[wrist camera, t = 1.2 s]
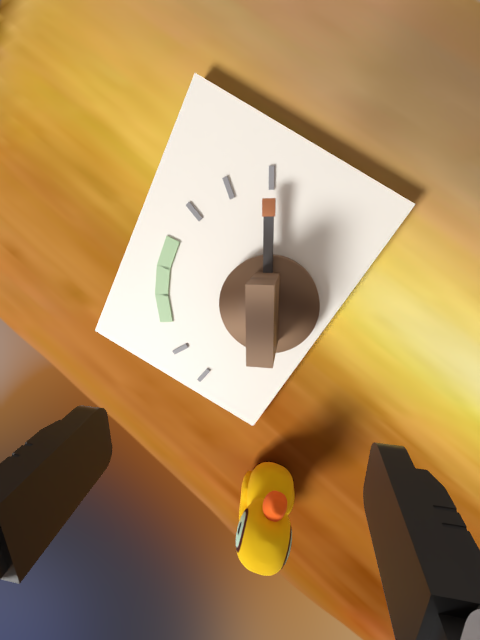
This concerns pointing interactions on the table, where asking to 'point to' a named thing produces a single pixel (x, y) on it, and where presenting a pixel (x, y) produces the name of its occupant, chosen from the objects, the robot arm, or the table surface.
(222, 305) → the knob
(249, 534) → the duckling
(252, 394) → the dial board
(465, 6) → the table surface
